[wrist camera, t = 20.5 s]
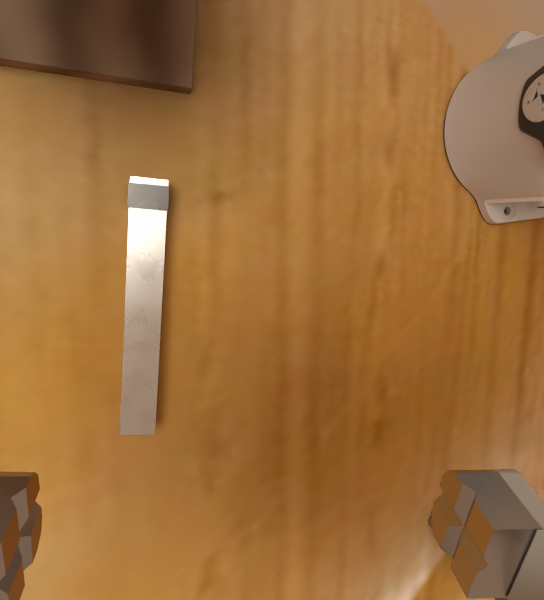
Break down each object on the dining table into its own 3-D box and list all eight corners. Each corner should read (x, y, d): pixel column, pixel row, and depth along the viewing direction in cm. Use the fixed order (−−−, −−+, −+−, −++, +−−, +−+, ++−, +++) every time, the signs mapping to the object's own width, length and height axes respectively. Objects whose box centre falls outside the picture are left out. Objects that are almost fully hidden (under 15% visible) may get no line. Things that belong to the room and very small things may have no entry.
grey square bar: (167, 182, 43) (169, 180, 40) (155, 420, 46) (156, 435, 43) (130, 178, 42) (128, 175, 39) (120, 421, 45) (118, 436, 42)
